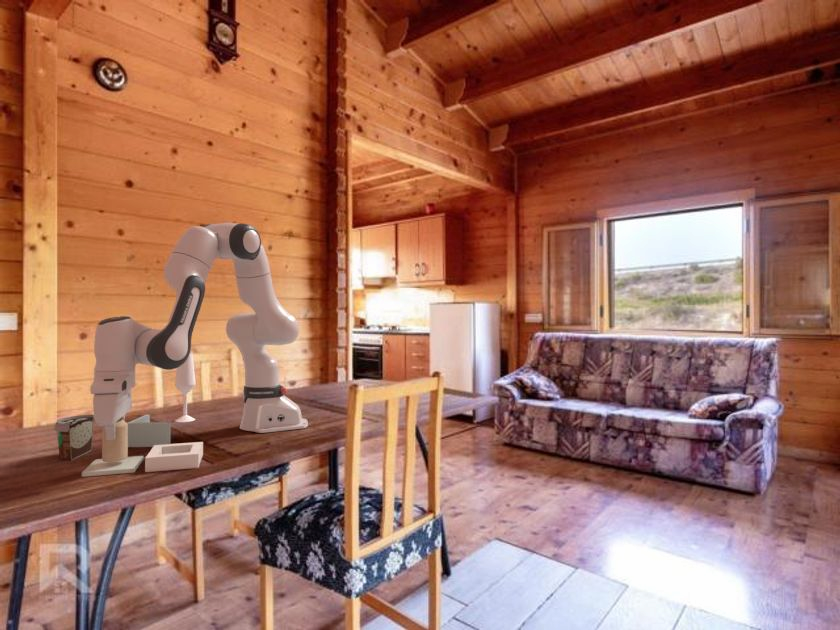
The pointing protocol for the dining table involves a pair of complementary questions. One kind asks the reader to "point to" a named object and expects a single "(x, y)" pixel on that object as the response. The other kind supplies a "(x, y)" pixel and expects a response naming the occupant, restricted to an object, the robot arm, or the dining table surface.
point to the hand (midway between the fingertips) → (115, 435)
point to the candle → (115, 443)
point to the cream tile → (113, 466)
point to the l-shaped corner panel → (148, 432)
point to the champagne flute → (185, 384)
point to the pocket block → (174, 456)
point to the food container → (74, 436)
